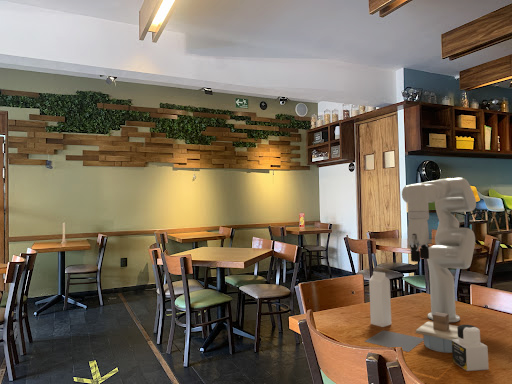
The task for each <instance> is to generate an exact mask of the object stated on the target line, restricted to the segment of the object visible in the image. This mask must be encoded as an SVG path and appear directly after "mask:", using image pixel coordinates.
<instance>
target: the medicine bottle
mask: <svg viewBox="0 0 512 384" xmlns="http://www.w3.org/2000/svg"><path fill="white" fill-rule="evenodd" d="M457 326H458V327H457V329H458V339H452V352H451V353H452V362H453V363H454V364H455V365H457V366H459V368H462V370H465V371H466V372H473V371H486V370H489V369H490V368H489V352H488V351H489V350H488V345H486V344H484V343H483V342H481V331H480V328H479V327H477V326H475V325H472V324H460V325H457Z"/></svg>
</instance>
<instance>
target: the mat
mask: <svg viewBox="0 0 512 384" xmlns="http://www.w3.org/2000/svg"><path fill="white" fill-rule="evenodd" d="M364 342H365V343H368V344H373V345H377V346H381V347H382V346H383V347H386V348H390V347H402V349H403V351H404V352H407V353H409V352H411V351H412V350H413V349H414V348H416V347H417V346H418V345H419V344H421V343H423V342H424V337H418V336H414V335H408V334H404V333H399V332H395V331H389V330H383V329H382V330H381V331H380V332H378V333H376V334H374V335H373V336H371V337H370V338H368V339H366V340H364ZM403 351H402V352H403Z"/></svg>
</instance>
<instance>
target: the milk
mask: <svg viewBox="0 0 512 384" xmlns="http://www.w3.org/2000/svg"><path fill="white" fill-rule="evenodd" d="M368 285H369V286H368V287H369V309H370V310H369V313H370V325H373V326H377V327H381V328H384V327H385V328H386V327H387V326H391V325H392V308H391V307H392V306H391V304H392V303H391V280H390V278H388V277H387V276H386V272H382V271H381V272H380V271H372V275H371V277H370V278H369V282H368Z"/></svg>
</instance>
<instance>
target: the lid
mask: <svg viewBox="0 0 512 384" xmlns="http://www.w3.org/2000/svg"><path fill="white" fill-rule="evenodd" d="M458 326H459V325H453V324H450V322H449V314H445V313H439V312H436V313H435V314H433V320H432V321H429V320H428V321H426V322H425V323H423V324H422V325H420V326H419V327H418V328H417V329H415V334H418V335H422V336H424V335H428V336H433V337H438V338H443V339H448V340H452V339H458V329H457V327H458Z"/></svg>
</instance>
